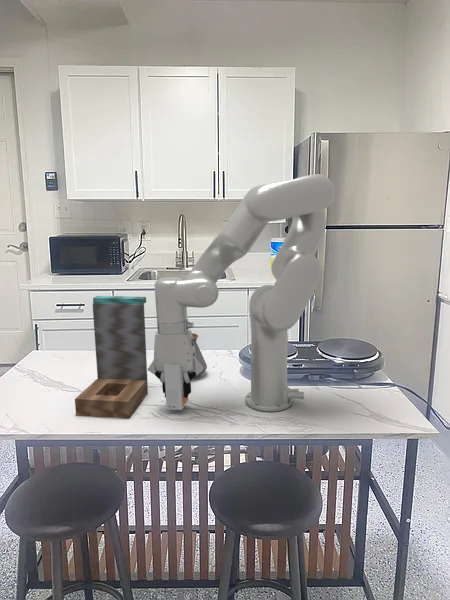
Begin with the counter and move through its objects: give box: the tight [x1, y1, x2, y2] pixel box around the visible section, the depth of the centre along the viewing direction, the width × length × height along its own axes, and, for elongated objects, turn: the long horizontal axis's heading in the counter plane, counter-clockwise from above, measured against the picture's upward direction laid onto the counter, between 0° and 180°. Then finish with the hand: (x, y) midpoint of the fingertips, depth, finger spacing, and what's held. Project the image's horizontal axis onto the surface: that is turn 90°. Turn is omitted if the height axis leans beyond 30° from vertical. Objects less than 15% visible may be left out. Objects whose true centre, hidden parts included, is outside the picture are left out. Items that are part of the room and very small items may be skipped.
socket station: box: [74, 295, 149, 419], centre depth 119 cm, size 14×18×28 cm
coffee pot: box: [190, 332, 208, 380], centre depth 135 cm, size 21×12×15 cm, turn 179°
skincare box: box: [164, 364, 189, 411], centre depth 115 cm, size 6×4×12 cm
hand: (177, 394), depth 116 cm, fingers closed on skincare box, 4 cm apart
